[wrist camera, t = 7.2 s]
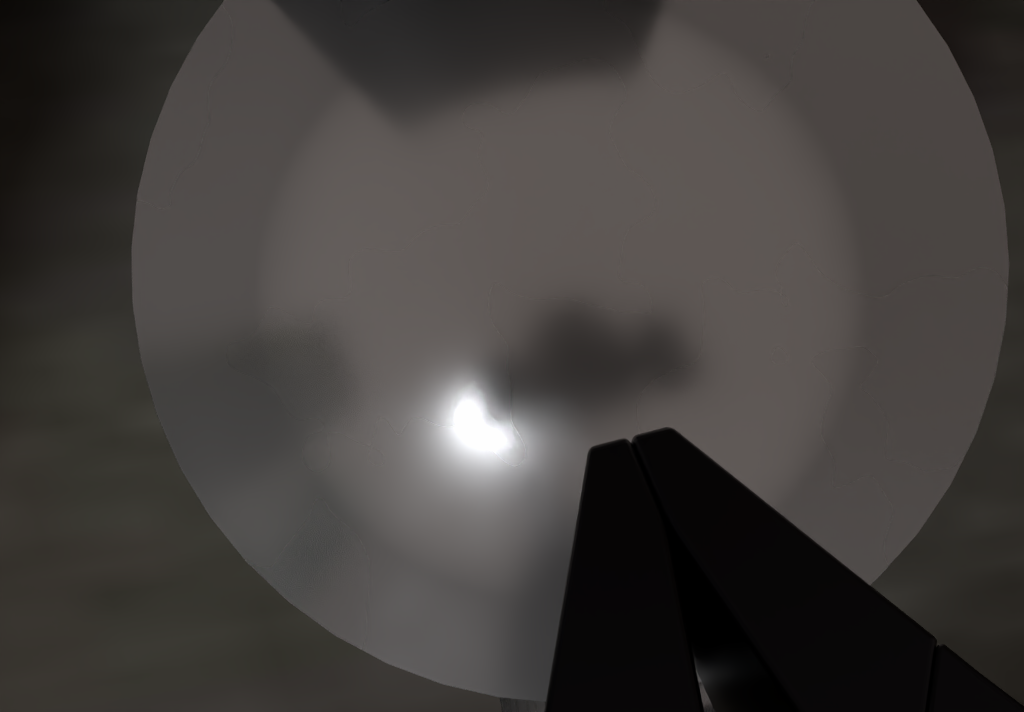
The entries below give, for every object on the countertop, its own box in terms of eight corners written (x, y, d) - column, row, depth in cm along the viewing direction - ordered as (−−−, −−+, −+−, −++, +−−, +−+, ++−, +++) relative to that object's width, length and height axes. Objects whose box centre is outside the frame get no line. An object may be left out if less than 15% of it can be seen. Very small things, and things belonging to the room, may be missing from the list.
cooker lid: (1078, 607, 15) (1183, 644, 13) (270, 804, 15) (220, 878, 13) (851, -208, 16) (908, -319, 13) (86, -16, 16) (7, -92, 13)
